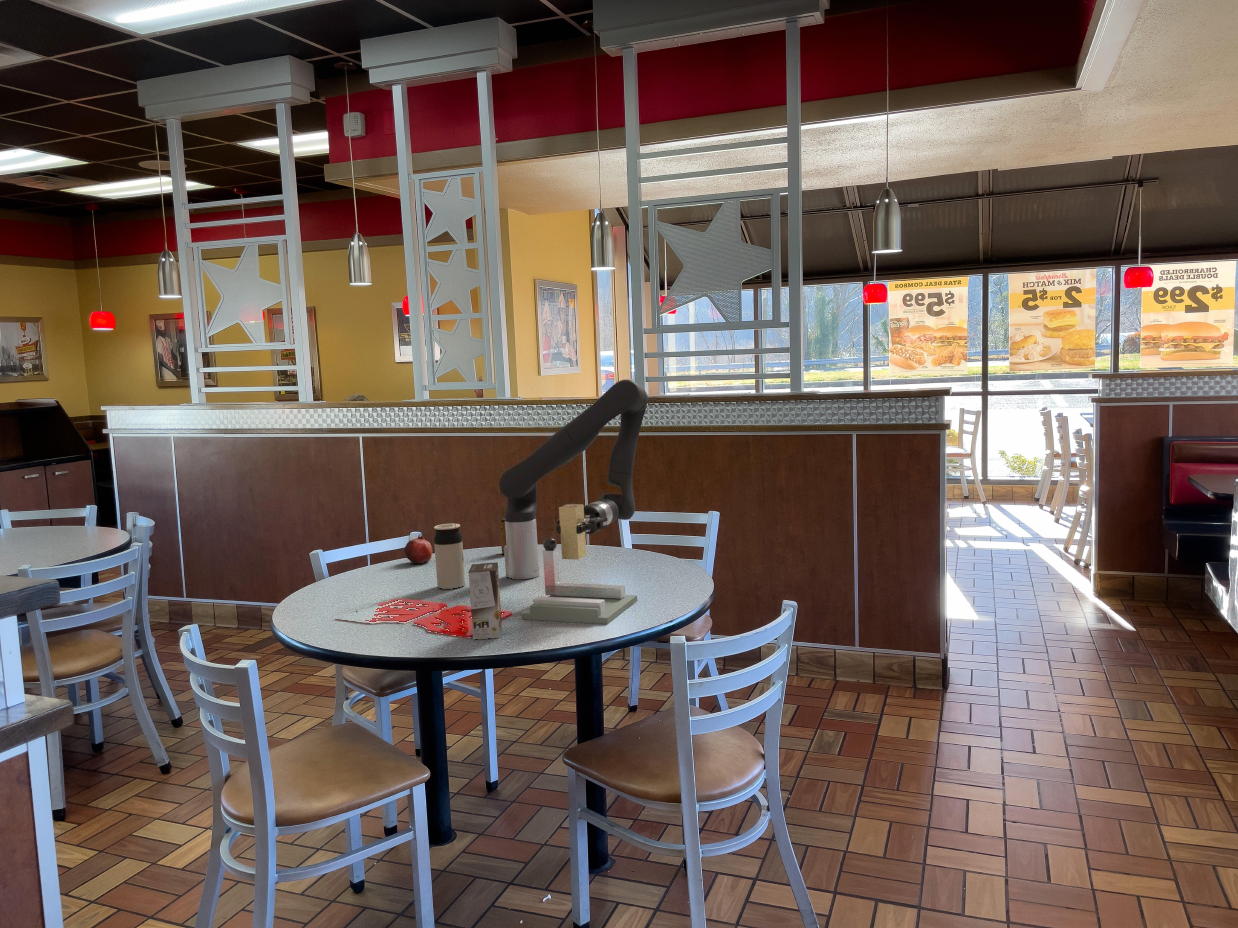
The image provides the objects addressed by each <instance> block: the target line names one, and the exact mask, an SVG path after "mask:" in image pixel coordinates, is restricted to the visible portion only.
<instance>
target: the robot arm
mask: <svg viewBox="0 0 1238 928" xmlns="http://www.w3.org/2000/svg"><path fill="white" fill-rule="evenodd" d="M648 399H649V398H648V394H647V392H646V389H645V388H644V387H642V385H639V384H638V383H637V382H635V381H633V380H631V379H620V380H619V381H616V382H615V383H614V384H613V385H612V386H611V387H609V388H608V389H607V391H605V392H604V394H602V395H601V396H600V397H599V398H598V399H597V400H596V401H595V402H594V403H592V404H591V406H589V407H588V408H587V409H585V410H583V411H582V412H580V413H579V414H578V415H577V416H575V418H573V419H572V420H571V421H570V422H568V423H566V424H565V425H563V426H562V427H561V428H560V429H558V431H556V432H555V433H554V434H552V435H551V436H550V437H549V438H548V439H546V440H545V441H544V442H543V443H542V444H541V445H540V446H539V447H538V448H537V449H536V450H535V451H534V452H533V453H532V454H530V455H529V456H528V457H526V458H525V459H523V460H522V461H519V463H517V464H515V465H513V466H512V467H510V468H507V469H506V470H505V471H503V472H502V474H501V475H500V478H499V481H498V488H499V491H500V493H501V494H502V495H503V496H504V497H505V498H506V499H507V502H506V503H507V504H506V508H505V510H504V518H505V529H506V543H507V545H506V546H504V555H503V556H504V567H505V578H506V577H509V579H511V578H512V580H530V579H533V578H537V577H538V576H540V567H539V566H540V563H539V548H538V533H537V532H538V531H537V518H536V517H537V515H536V512H537V508H538V499H537V498H538V497H537V495H538V493H537V483H538V482H539V481H540V480H541V479H543V478H544V477H545V476H546V475H548V474H550V473H551V472H553V471H555V470H557V469H559V468H561V467H563V466H564V465H566V464H567V463H569V462H571V461H573V459H575V458H576V457H578V456H579V455H581V454H582V453H583V452H585V451H586V450H587V449H588V448H589V447H590V446H591V445H592V444H593V443H594V442H595V440H596V438H597V437H598V435H599V434H600V432H601V431H602V430H603V428H604V427H605V426H606V425H607V424H608V423H609V422H611V421H612V420H614V419H615V418H617V417H618V416H620V425H619V430H618V434H617V437H616V439H615V442H614V445H613V446H612V449H611V453H610V457H609V462H608V463H609V464H608V470H607V472H608V473H607V482H608V484H610V485H611V486H615V487H617V488H620V490H621V493H619V494H617V493H603V494H601V495H600V496H599V497H598V500H597V501H594V502H593V501H592V502H591V503H589V504H586V505H584V523H580V524H578V525H577V526H576V533H577V534H581V533H583V532H585V535H594V534H595V533H598V532H600V531H601V530H604V529H608V528H609V525H610V524H612V523H614V522H616V520H620V521H621V520H623V521H628V520H630V519H631V518H632V517H634V514H635V512H636V502H635V495H634V488H633V476H634V467H635V466H634V465H635V461H636V460H635V458H636V453H637V445H638V440H639V436H640V432H641V428H642V425H643V424H642V423H643V419H644V416H645V413H646V409H647V405H648V401H649V400H648ZM556 532H557V534H559V535H561V534H560V533H561V532H560V518H559V517H558V518H557V520H556Z"/></svg>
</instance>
